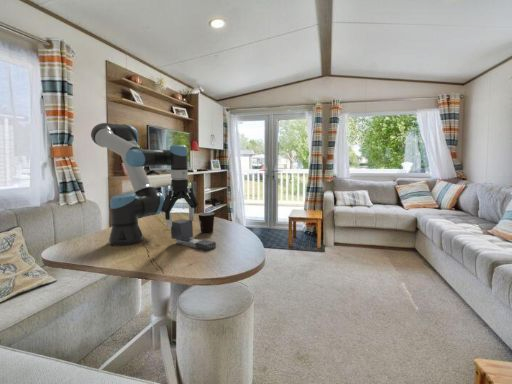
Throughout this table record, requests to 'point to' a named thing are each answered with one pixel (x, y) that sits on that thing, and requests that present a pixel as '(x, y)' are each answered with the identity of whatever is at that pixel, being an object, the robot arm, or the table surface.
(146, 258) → the table surface
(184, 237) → the dark grey cube
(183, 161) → the robot arm
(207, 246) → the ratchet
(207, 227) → the coffee mug
